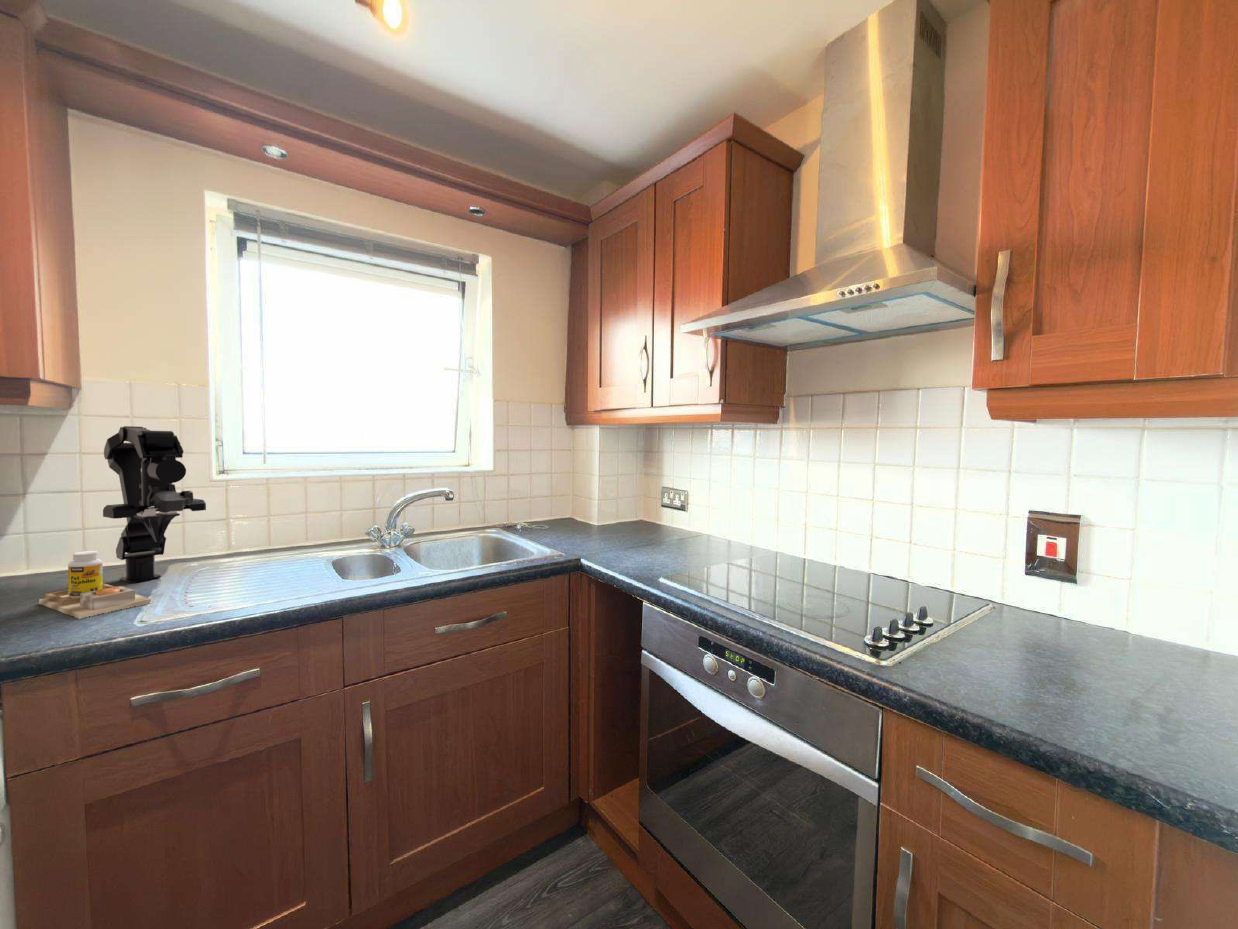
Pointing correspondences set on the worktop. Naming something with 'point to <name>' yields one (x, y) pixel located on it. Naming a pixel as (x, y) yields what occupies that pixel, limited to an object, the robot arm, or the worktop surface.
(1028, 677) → the worktop surface
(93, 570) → the supplement bottle
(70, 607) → the pallet
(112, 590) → the button
